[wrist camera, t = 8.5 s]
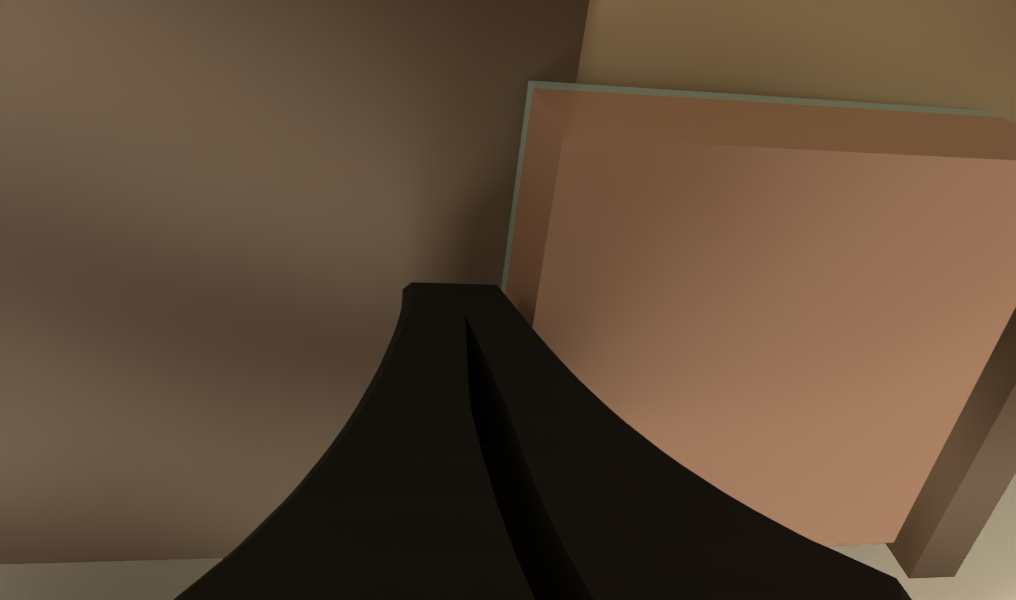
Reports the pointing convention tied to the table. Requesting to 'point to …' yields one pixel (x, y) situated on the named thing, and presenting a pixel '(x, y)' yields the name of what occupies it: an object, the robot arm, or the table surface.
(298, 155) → the board
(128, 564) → the table surface
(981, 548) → the table surface
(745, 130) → the tile
